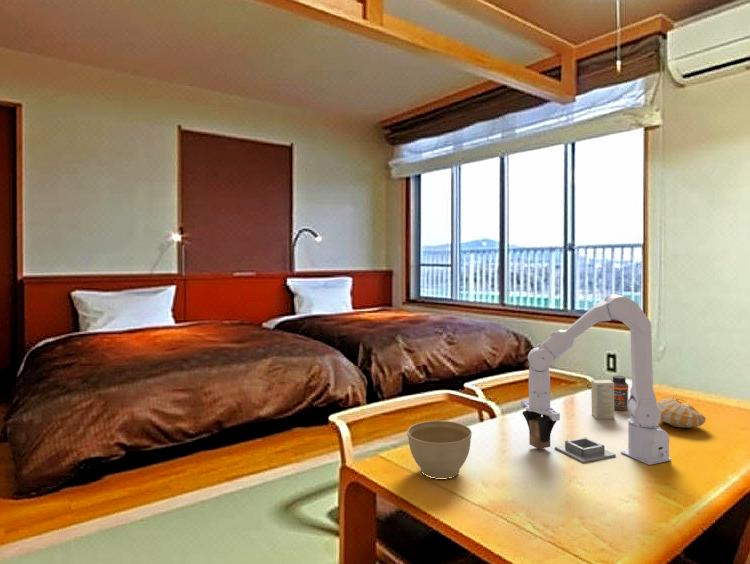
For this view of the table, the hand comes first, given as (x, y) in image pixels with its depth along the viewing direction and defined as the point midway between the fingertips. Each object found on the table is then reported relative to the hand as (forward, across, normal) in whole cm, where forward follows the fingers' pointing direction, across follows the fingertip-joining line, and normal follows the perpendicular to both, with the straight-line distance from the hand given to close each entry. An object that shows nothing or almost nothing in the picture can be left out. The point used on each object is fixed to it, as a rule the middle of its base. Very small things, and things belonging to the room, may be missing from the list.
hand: (539, 438), depth 147 cm
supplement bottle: (+3, -20, +49) cm, 53 cm away
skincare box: (+3, -15, +37) cm, 40 cm away
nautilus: (+3, 0, +54) cm, 54 cm away
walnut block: (+2, 0, 0) cm, 2 cm away
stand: (+3, +7, +10) cm, 12 cm away
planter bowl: (+3, +3, -33) cm, 33 cm away
